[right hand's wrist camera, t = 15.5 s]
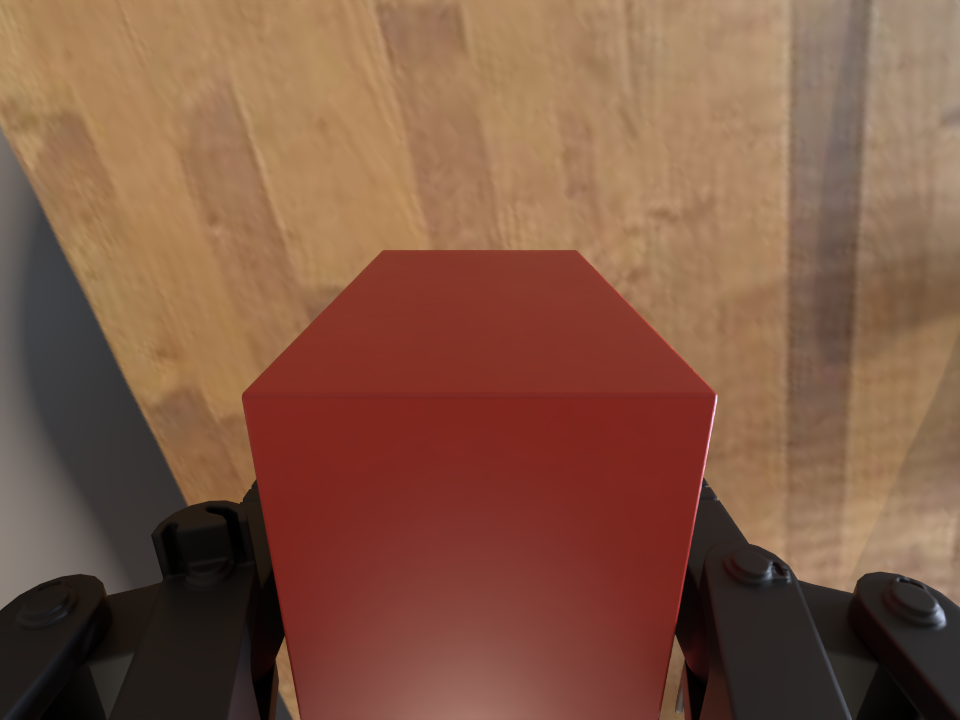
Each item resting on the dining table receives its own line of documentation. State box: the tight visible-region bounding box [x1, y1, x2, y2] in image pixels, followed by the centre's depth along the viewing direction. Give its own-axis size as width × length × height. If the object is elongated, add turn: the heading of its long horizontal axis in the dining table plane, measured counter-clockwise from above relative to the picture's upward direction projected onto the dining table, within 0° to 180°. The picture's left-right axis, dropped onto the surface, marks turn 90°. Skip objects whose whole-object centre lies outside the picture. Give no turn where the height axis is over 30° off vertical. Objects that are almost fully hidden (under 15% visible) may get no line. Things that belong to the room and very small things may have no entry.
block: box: [242, 250, 717, 720], centre depth 11 cm, size 5×9×9 cm, turn 0°
